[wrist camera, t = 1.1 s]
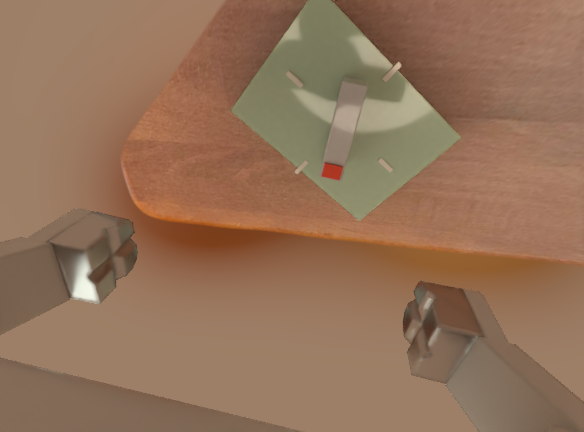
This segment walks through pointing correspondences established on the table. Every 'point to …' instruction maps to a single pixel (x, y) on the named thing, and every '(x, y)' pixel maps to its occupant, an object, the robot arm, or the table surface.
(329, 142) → the red-button grey box
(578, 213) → the table surface
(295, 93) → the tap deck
